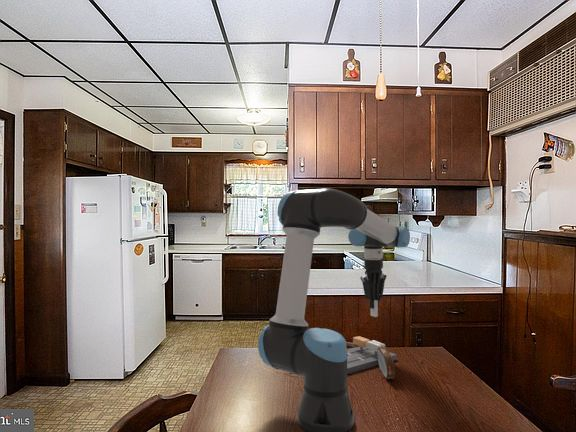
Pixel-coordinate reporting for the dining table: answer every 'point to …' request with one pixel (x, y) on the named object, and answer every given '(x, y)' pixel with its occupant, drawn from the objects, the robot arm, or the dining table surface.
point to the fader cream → (374, 345)
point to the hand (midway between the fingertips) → (374, 316)
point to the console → (362, 359)
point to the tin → (386, 363)
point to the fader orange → (360, 342)
